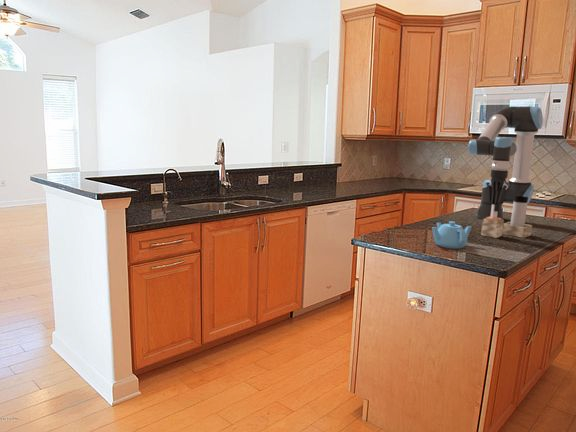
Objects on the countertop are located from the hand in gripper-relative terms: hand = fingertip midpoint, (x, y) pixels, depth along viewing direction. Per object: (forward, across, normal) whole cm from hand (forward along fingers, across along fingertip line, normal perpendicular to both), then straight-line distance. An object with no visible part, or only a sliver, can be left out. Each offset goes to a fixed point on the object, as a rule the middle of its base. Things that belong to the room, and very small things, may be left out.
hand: (493, 217), depth 228 cm
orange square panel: (+3, 0, 0) cm, 3 cm away
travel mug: (+9, 0, +15) cm, 18 cm away
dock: (+9, 0, +9) cm, 13 cm away
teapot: (+10, +13, -34) cm, 37 cm away
